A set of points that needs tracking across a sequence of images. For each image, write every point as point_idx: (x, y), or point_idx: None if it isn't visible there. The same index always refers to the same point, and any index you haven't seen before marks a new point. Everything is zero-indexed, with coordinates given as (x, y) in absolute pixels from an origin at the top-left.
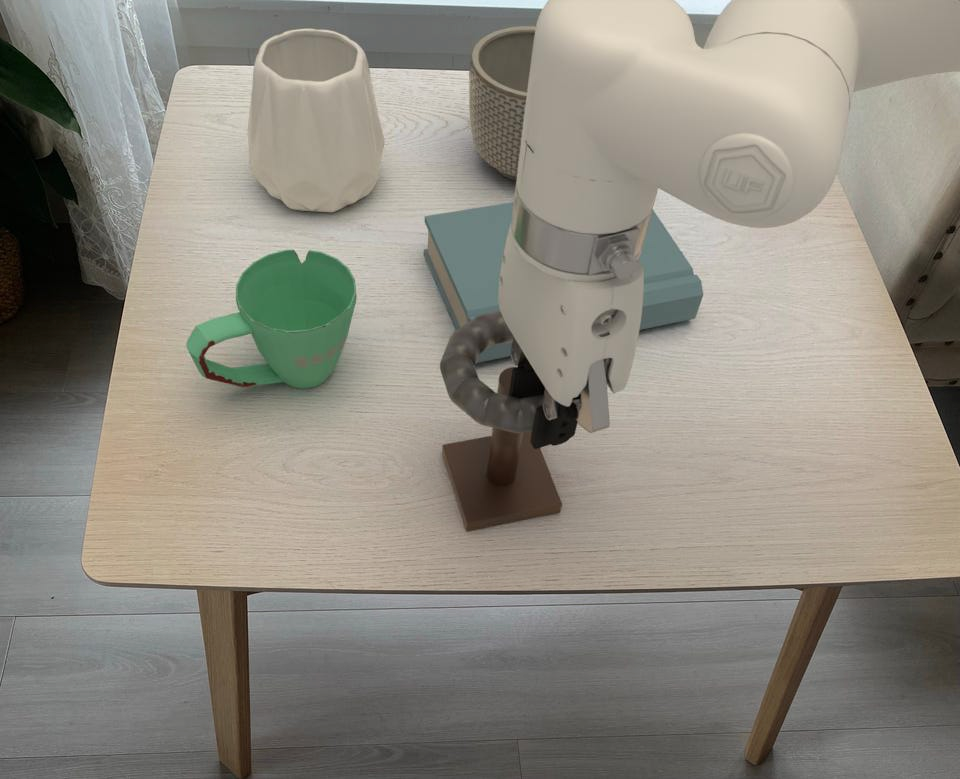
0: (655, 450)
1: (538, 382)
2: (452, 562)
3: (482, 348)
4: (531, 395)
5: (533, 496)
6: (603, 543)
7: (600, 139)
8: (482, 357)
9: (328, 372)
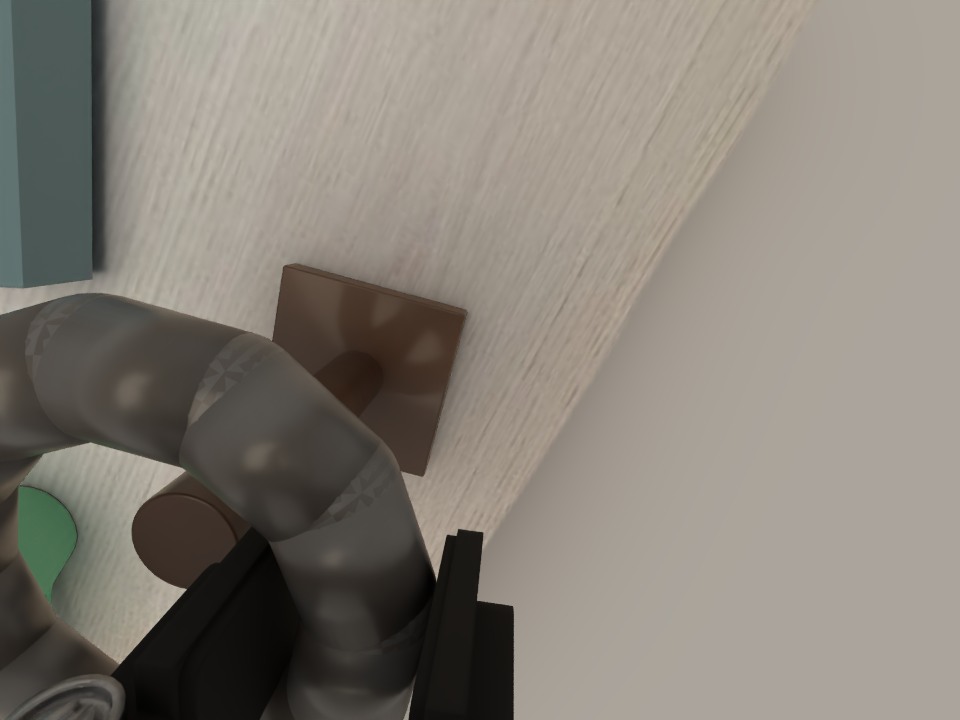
0: (429, 33)
1: (247, 659)
2: (465, 508)
3: (21, 637)
4: (282, 621)
5: (425, 353)
6: (560, 277)
7: None
8: (81, 261)
9: (48, 532)
